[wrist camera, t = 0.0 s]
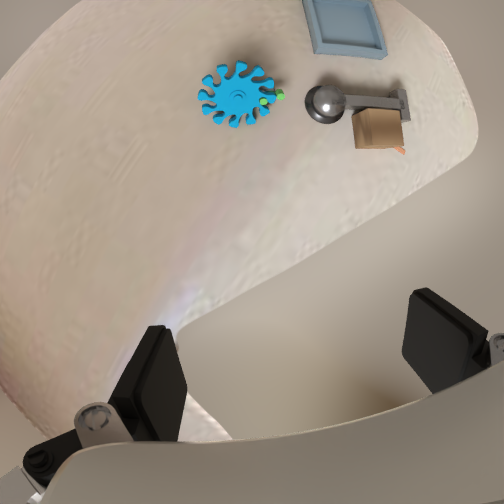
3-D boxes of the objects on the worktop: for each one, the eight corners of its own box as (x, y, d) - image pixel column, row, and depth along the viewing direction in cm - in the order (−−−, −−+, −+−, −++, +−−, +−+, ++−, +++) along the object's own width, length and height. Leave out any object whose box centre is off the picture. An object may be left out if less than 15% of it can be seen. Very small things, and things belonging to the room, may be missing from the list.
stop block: (351, 116, 37) (368, 108, 31) (380, 117, 37) (399, 110, 31) (355, 148, 38) (372, 145, 32) (383, 148, 38) (403, 145, 32)
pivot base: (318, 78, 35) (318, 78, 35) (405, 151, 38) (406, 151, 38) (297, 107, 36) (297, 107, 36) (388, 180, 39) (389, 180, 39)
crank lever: (313, 120, 36) (318, 116, 34) (308, 88, 35) (313, 82, 32) (402, 122, 36) (410, 120, 34) (397, 93, 35) (405, 89, 33)
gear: (196, 129, 35) (199, 63, 26) (197, 108, 38) (200, 48, 29) (277, 132, 37) (293, 69, 28) (270, 110, 40) (283, 54, 31)
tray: (301, -1, 31) (304, -9, 28) (365, 6, 31) (371, 0, 29) (314, 53, 34) (318, 47, 31) (381, 59, 34) (387, 54, 32)
